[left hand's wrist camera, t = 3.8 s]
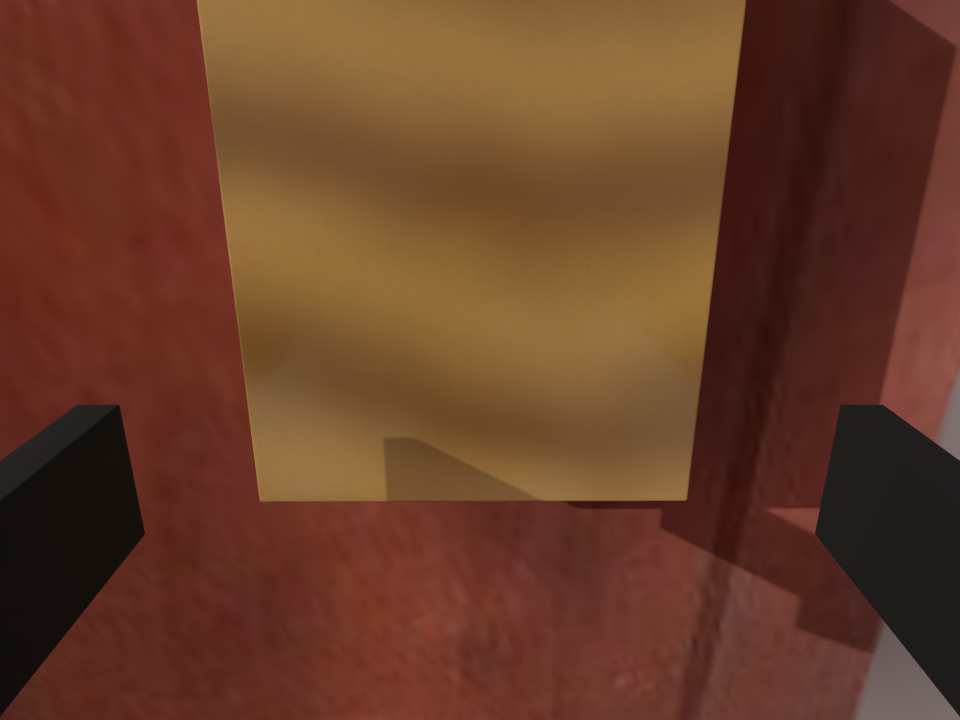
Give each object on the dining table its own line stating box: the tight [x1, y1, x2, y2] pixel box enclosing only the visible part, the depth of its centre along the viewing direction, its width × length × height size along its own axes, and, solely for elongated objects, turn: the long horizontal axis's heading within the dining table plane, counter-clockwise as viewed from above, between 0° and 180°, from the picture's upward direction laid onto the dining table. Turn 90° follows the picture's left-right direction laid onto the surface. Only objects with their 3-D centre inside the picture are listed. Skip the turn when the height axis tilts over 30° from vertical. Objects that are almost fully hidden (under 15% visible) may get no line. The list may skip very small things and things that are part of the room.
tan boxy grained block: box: [197, 0, 746, 502], centre depth 18 cm, size 17×11×8 cm, turn 0°
